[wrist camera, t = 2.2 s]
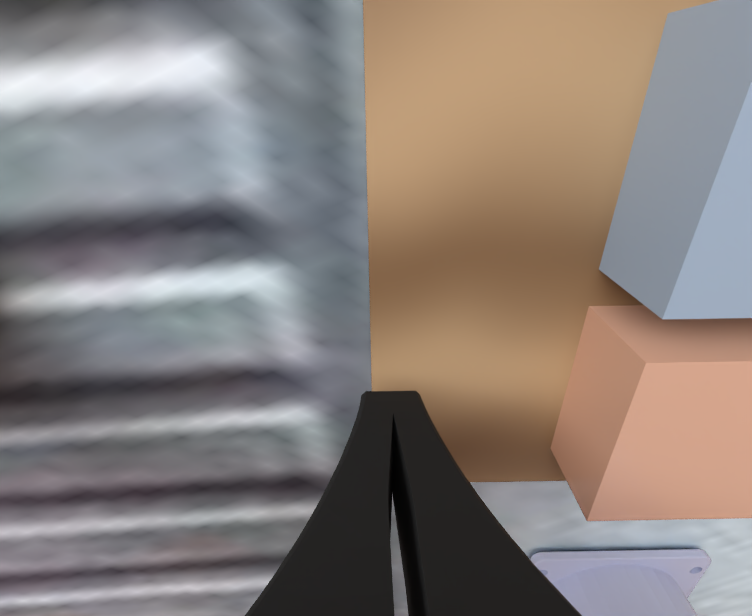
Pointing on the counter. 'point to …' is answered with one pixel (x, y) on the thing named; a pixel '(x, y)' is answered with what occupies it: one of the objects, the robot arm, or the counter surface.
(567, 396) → the terracotta tile
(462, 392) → the oak board
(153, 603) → the counter surface
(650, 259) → the slate tile
